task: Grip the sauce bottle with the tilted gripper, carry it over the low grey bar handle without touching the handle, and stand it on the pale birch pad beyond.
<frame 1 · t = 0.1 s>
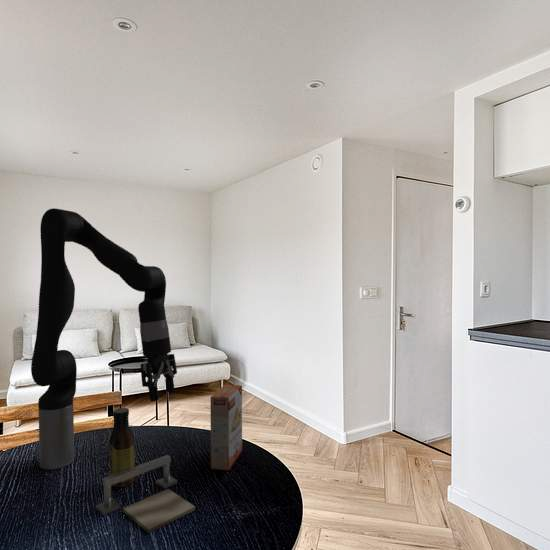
hand: (162, 396, 115), 22 cm above the table, tool pointing down, fingers open, 8 cm apart
sauce bottle: (122, 483, 112), on the table
cracker box: (227, 460, 125), on the table
grey bar handle: (138, 495, 106), on the table
birch pad: (159, 510, 99), on the table
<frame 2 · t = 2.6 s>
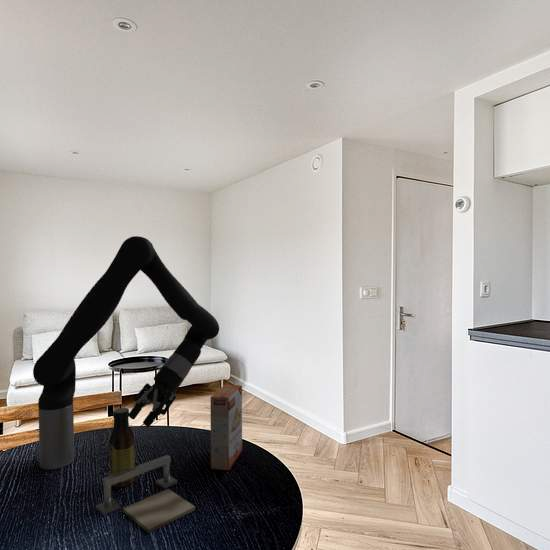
hand: (137, 421, 115), 15 cm above the table, tool tilted 45°, fingers open, 8 cm apart
nothing on the table moved.
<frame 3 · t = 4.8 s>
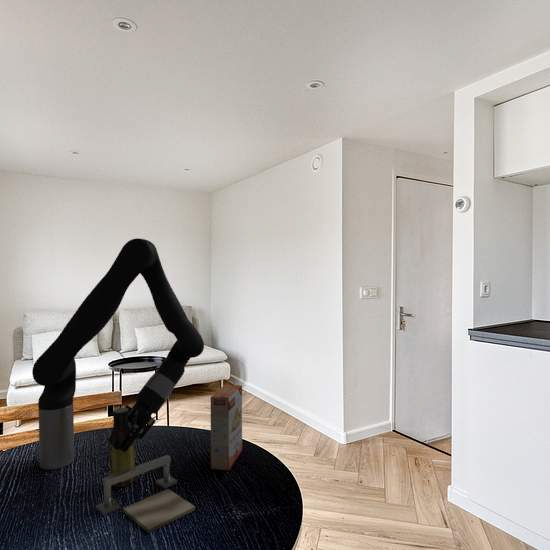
hand: (116, 446, 111), 10 cm above the table, tool tilted 45°, fingers closed on sauce bottle, 6 cm apart
sauce bottle: (122, 483, 112), on the table, touching gripper
everything else where it was.
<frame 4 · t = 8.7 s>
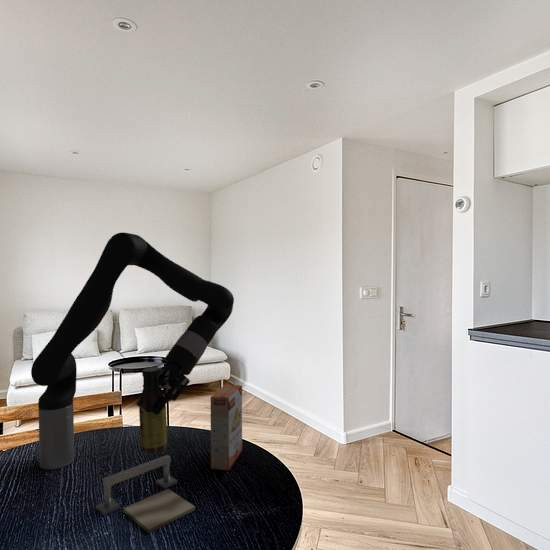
hand: (146, 409, 100), 24 cm above the table, tool tilted 45°, fingers closed on sauce bottle, 6 cm apart
sauce bottle: (154, 450, 101), point 13 cm above the table, touching gripper
everything else where it was.
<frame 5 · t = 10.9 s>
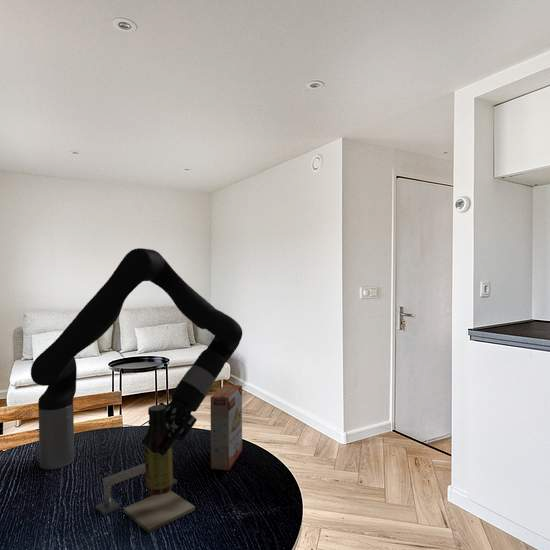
hand: (152, 449, 97), 15 cm above the table, tool tilted 45°, fingers closed on sauce bottle, 6 cm apart
sauce bottle: (159, 490, 99), point 5 cm above the table, touching gripper
everything else where it was.
when the fingers open (12 cm above the table, at t = 12.7 s): sauce bottle stays where it is, resting on birch pad.
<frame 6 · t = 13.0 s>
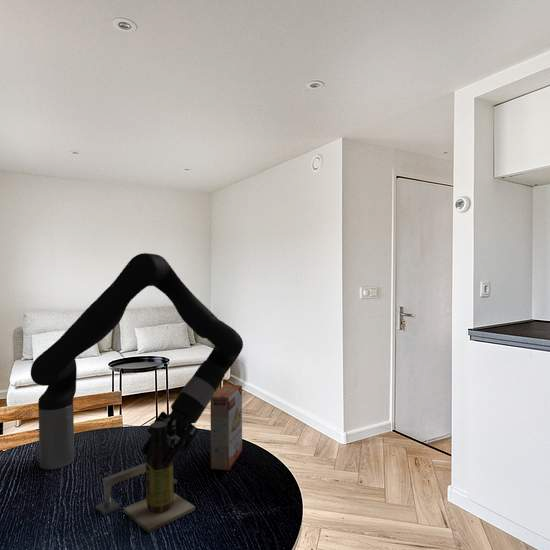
hand: (153, 459, 97), 13 cm above the table, tool tilted 45°, fingers open, 8 cm apart
sauce bottle: (160, 507, 99), point 1 cm above the table, touching birch pad
everything else where it was.
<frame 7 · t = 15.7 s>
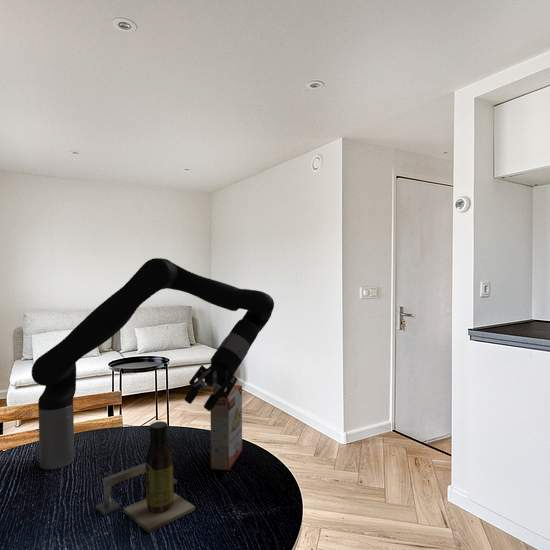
hand: (196, 405, 106), 22 cm above the table, tool tilted 45°, fingers open, 8 cm apart
nothing on the table moved.
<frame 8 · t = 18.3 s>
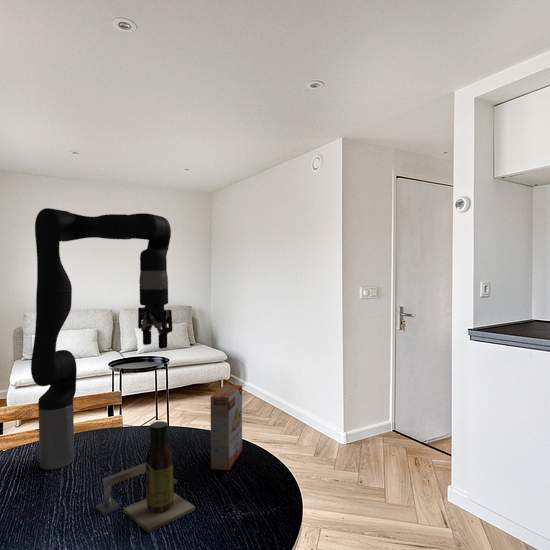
hand: (154, 346, 114), 36 cm above the table, tool pointing down, fingers open, 8 cm apart
nothing on the table moved.
at the end: sauce bottle inside the target area on the birch pad (0.2 cm from its centre), point 0.6 cm above the birch pad's base; sauce bottle tilted 0°; sauce bottle touching birch pad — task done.
